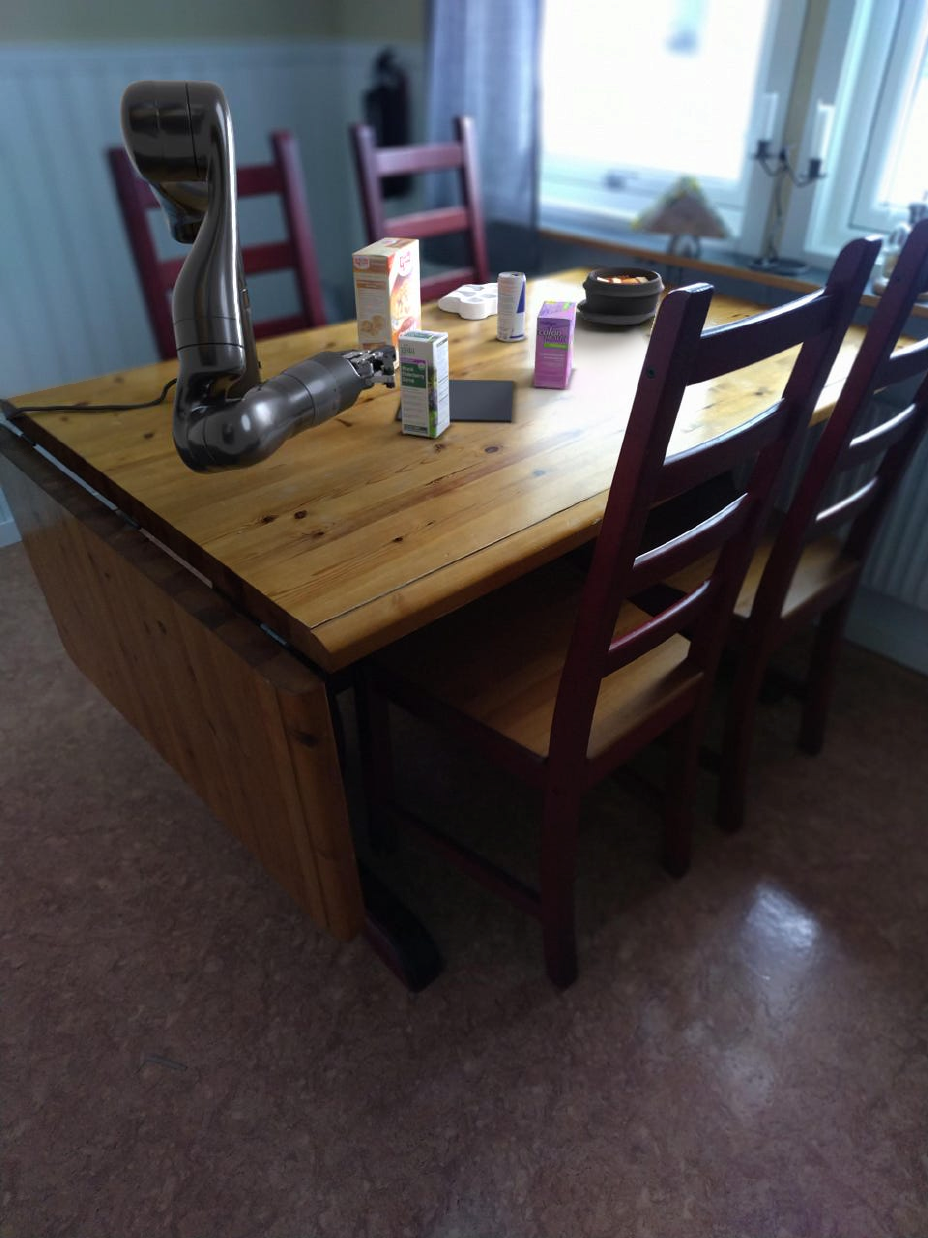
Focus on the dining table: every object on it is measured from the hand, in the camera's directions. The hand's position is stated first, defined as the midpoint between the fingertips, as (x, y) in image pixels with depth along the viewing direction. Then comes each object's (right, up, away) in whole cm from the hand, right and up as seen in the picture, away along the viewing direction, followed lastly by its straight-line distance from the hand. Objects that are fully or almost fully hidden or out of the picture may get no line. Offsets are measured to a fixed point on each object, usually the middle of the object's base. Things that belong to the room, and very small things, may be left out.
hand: (390, 352), depth 116 cm
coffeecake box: (-3, +13, +44) cm, 46 cm away
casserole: (+43, +27, +64) cm, 82 cm away
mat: (+9, 0, +24) cm, 26 cm away
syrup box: (+4, -8, +14) cm, 17 cm away
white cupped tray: (+13, +32, +71) cm, 79 cm away
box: (+26, +6, +33) cm, 42 cm away
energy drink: (+19, +19, +52) cm, 59 cm away
